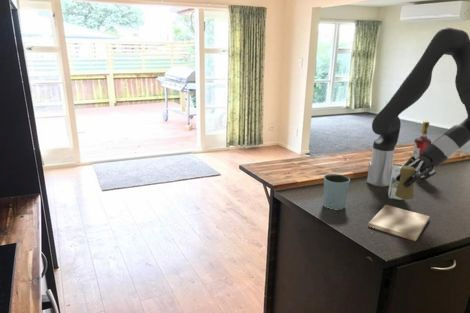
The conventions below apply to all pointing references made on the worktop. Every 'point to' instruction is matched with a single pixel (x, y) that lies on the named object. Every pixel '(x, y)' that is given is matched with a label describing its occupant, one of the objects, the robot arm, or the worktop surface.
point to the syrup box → (394, 181)
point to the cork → (405, 174)
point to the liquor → (421, 141)
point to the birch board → (399, 222)
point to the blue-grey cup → (335, 190)
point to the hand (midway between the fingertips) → (400, 183)
